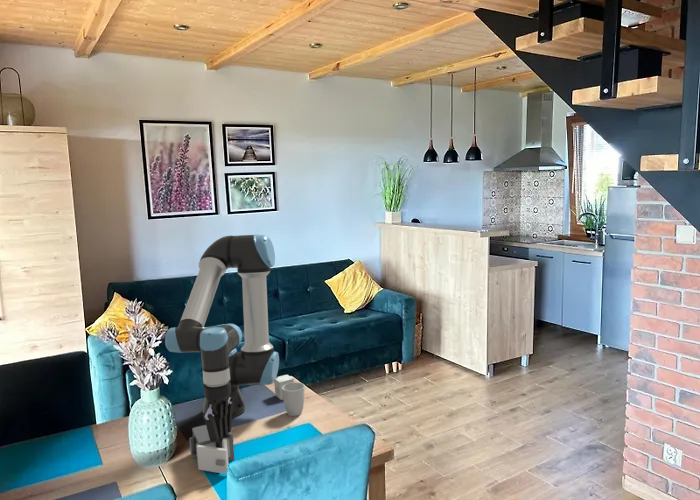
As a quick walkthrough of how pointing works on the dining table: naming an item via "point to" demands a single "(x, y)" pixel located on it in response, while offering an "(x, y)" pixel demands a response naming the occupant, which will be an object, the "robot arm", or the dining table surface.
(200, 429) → the grey boxy piece
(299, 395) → the cup
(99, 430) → the dining table surface
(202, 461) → the side door
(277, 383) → the skincare box
